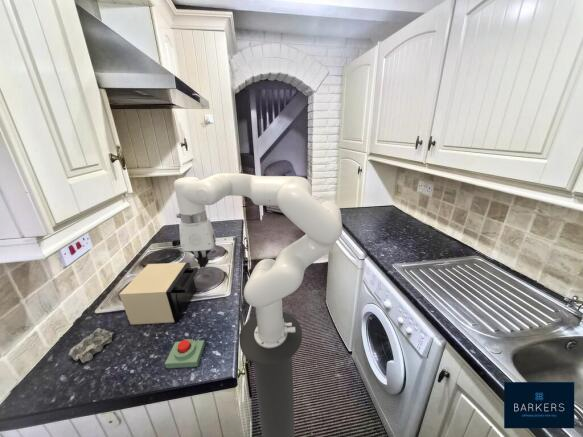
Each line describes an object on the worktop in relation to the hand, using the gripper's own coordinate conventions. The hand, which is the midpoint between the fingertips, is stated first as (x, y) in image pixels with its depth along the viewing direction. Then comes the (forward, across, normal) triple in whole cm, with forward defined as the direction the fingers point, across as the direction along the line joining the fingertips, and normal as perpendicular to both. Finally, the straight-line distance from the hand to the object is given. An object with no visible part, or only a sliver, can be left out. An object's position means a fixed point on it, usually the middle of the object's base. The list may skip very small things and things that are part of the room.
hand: (203, 265), depth 80 cm
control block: (+27, -6, -13) cm, 31 cm away
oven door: (+27, -13, +12) cm, 32 cm away
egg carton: (+27, -40, -8) cm, 49 cm away
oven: (+27, -25, +12) cm, 38 cm away
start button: (+23, -6, -13) cm, 28 cm away
